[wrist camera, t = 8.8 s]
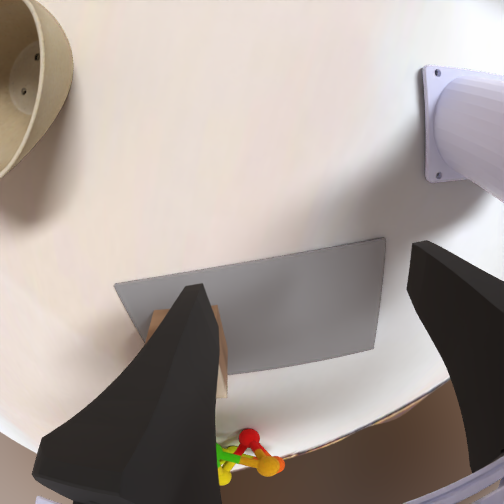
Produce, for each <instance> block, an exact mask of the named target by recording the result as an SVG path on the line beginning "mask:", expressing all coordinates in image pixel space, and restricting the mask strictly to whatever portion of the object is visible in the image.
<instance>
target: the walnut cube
mask: <svg viewBox="0 0 504 504" xmlns="http://www.w3.org/2000/svg"><path fill="white" fill-rule="evenodd" d="M211 307H212V310H213V312H214V315H215V318H216V321H217V323H218V326H219V344H220V356H219V369H218V380H217V392H216V398H227V366H228V348H227V343H226V339H225V335H224V331H223V327H222V322H221V318H220V314H219V309H218V305H212V306H211ZM169 310H170V309H161V310H154V312H153V316H152V319H151V323H150V327H149V330H148V334H147V338H146V342H145V344H146V343H147V341H148V340H149V339H150V337H151V336H152V335H153V333H154V332H155V331H156V329H157V328H158V326H159V325H160V323H161V322H162V320H163V319H164V317H165V316H166V314H167V313H168V311H169ZM144 346H145V345H144Z"/></svg>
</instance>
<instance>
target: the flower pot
mask: <svg viewBox="0 0 504 504" xmlns="http://www.w3.org/2000/svg"><path fill="white" fill-rule="evenodd" d="M35 56H37V60H36V59H35ZM72 77H73V57H72V51H71V48H70V44H69V41H68V39H67V37H66V35H65V32H64V31H63V29H62V27H61V26H60V24H59V23H58V21H57V20H56V19H55V18H54V16H53V15H52V14H51V13H50V12H49V11H48V10H47V9H46V8H45V7H44V6H42V5H41V4H40V3H39V2H37V1H36V0H0V179H1V178H2V177H3V176H5V175H6V174H7V173H8V172H9V171H10V170H11V169H13V168H14V167H15V166H16V165H17V164H18V163H19V162H20V161H21V160H22V159H23V158H24V157H25V156H26V155H27V154H28V153H29V152H30V151H31V149H32V148H33V147H34V146H35V145H36V144H37V143H38V141H39V140H40V139H41V138H42V137H43V135H44V134H45V133H46V131H47V130H48V129H49V127H50V126H51V124H52V123H53V121H54V120H55V118H56V117H57V115H58V113H59V111H60V110H61V108H62V106H63V104H64V102H65V100H66V97H67V95H68V92H69V89H70V86H71V82H72ZM25 91H26V93H25ZM24 93H25V94H24Z"/></svg>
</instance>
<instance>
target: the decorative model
mask: <svg viewBox="0 0 504 504" xmlns="http://www.w3.org/2000/svg"><path fill="white" fill-rule="evenodd" d="M259 440H260V437H259V434H258V432H257V431H255V430H253V429H246V430H243V431H242V432H241V433H240V435H239V442H240V443H241V444H240V445H239V446H238V447H236V446H230V447H228V448H227V449H225V448H222V447H221V446H220V445H219V444H217V443H216V453H217V466H218V476H219V485H225V484H227V483H229V482H230V480H231V473H230V470H231V469H232V468H233V466H234V465H235V464H236V463H237V464H241V465H245V466H250V467H254V468H257V471H258V472H259V473H260V474H261V475H263V476H272V475H275V474H276V473H279V472H281V471H282V470H283V469H284V467H285V463H284V460H283V459H282V458H280V457H278V456H273V457H272V456H271V455H270V454H269V453H268V452H267V451H266V450H265V449H264V448H263V447H262V446H261V445H260V443H259ZM247 448H251V449H252V451H253V452H254V454H255V455H256V457H254V456H250V455H246V454H243V453H244V452H245V450H246V449H247ZM222 464H223V466H222V467H221V465H222Z"/></svg>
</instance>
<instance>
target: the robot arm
mask: <svg viewBox="0 0 504 504" xmlns="http://www.w3.org/2000/svg"><path fill="white" fill-rule="evenodd" d="M435 70H437V72H438V74H437V76H436V75H435ZM422 73H423V84H424V98H425V120H426V166H425V178H426V180H427V181H429V182H430V183H438V182H447V181H456V180H466V179H469V180H471V181H472V182H474V183H475V184H477V185H478V186H480V187H481V188H483V189H484V190H486V191H487V192H489V193H490V194H492V195H493V196H495V197H496V198H497V199H499V200H500V201H502V202H503V203H504V76H502V75H497V74H492V73H486V72H481V71H475V70H468V69H461V68H454V67H446V66H436V65H425V66H424V67H423V71H422ZM437 173H439V176H438V177H436V175H437ZM407 291H408V294H409V296H410V299H411V301H412V303H413V306H414V308H415V310H416V313H417V314H418V316H419V318H420V320H421V321H422V323H423V325H424V327H425V328H426V330H427V332H428V334H429V335H430V337H431V339H432V341H433V343H434V344H435V346H436V348H437V350H438V352H439V353H440V355H441V357H442V359H443V361H444V363H445V365H446V368H447V370H448V373H449V375H450V378H451V381H452V383H453V386H454V389H455V392H456V396H457V399H458V402H459V406H460V409H461V414H462V418H463V422H464V427H465V431H466V437H467V444H468V451H469V461H470V467H471V470H472V473H473V474H471V475H469V476H467V477H465V478H463V479H461V480H459V481H457V482H455V483H452V484H450V485H448V486H446V487H444V488H441V489H439V490H437V491H434V492H432V493H430V494H427V495H425V496H422V497H419V498H417V499H414V500H412V501H409V502H406V503H403V504H456V503H458V502H460V501H462V500H464V499H466V498H468V497H470V496H472V495H474V494H475V493H477V492H479V491H481V490H483V489H485V488H486V487H488V486H490V485H491V484H493V483H495V482H497V481H498V480H500V479H501V478H502V479H501V481H500V484H499V487H498V488H497V489H496V490H494V491H493V492H491V493H489V494H487V495H486V496H484V497H482V498H480V499H478V500H476V501H475V502H473V503H471V504H504V281H502V280H500V279H498V278H496V277H494V276H492V275H490V274H488V273H486V272H485V271H483V270H481V269H479V268H477V267H476V266H474V265H472V264H470V263H469V262H467V261H465V260H463V259H462V258H460V257H458V256H456V255H454V254H453V253H451V252H449V251H447V250H446V249H444V248H442V247H440V246H438V245H436V244H434V243H432V242H430V241H427V240H426V241H421V242H416V243H412V251H411V260H410V269H409V276H408V283H407ZM219 356H220V344H219V326H218V323H217V321H216V318H215V315H214V312H213V310H212V307H211V304H210V302H209V299H208V296H207V293H206V291H205V288H204V285H203V283H200V284H194V285H188V286H185V287H184V289H183V290H182V292H181V293H180V295H179V296H178V298H177V299H176V301H175V302H174V304H173V305H172V307H171V308H170V310H169V311H168V313H167V314H166V316H165V317H164V319H163V320H162V322H161V323H160V325H159V326H158V328H157V329H156V331H155V332H154V333H153V335H152V336H151V337H150V339H149V340H148V341H147V343H146V344H145V346H144V347H143V348H142V350H141V351H140V352H139V353H138V355H137V356H136V357H135V358H134V360H133V361H132V362H131V363H130V364H129V365H128V366H127V368H126V369H125V370H124V371H123V372H122V373H121V374H120V375H119V376H118V377H117V379H116V380H114V381H113V382H112V383H111V384H110V385H109V386H108V387H107V388H106V389H105V390H104V391H103V392H102V393H101V394H100V395H99V396H98V397H97V398H96V399H95V400H93V401H92V402H91V403H90V404H89V405H88V406H86V407H85V408H84V409H83V410H81V411H80V412H79V413H78V414H76V415H75V416H74V417H72V418H71V419H70V420H68V421H67V422H66V423H64V424H63V425H61V426H60V427H58V428H57V429H55V430H53V431H52V432H50V433H49V434H47V435H46V436H44V437H42V439H41V443H40V446H39V449H38V453H37V457H36V460H35V464H34V468H33V471H32V475H33V477H34V478H35V480H36V481H38V482H39V483H41V484H42V485H44V486H46V487H47V488H49V489H51V490H53V491H55V492H57V493H59V494H61V495H63V496H65V497H67V498H69V499H71V500H73V504H222V501H221V494H220V486H219V476H218V466H217V453H216V436H215V404H216V392H217V380H218V369H219ZM35 504H60V503H58V502H55V501H52V500H49V499H46V498H43V497H41V496H37V498H36V503H35Z"/></svg>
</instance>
